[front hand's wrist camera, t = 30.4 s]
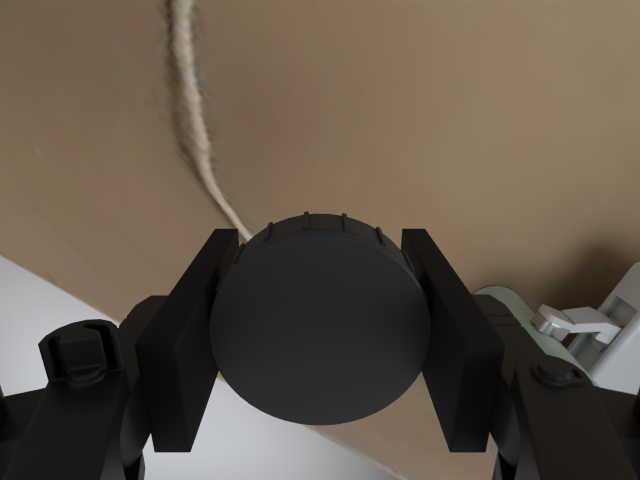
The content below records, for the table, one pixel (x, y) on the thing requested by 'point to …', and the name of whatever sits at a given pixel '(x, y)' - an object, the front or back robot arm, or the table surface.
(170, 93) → the table surface
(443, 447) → the table surface
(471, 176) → the table surface
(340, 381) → the lid
